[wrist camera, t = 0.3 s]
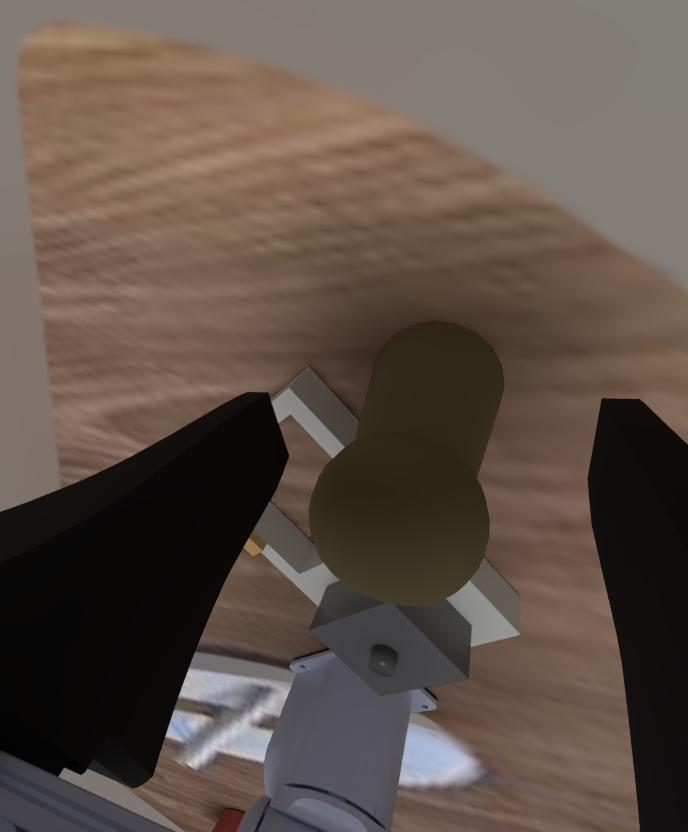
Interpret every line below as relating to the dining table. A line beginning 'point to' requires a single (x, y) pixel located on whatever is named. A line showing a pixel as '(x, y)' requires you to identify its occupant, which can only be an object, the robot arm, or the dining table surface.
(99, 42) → the dining table surface
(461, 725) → the dining table surface
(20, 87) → the dining table surface
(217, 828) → the flower pot
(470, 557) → the brown pear
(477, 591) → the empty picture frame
